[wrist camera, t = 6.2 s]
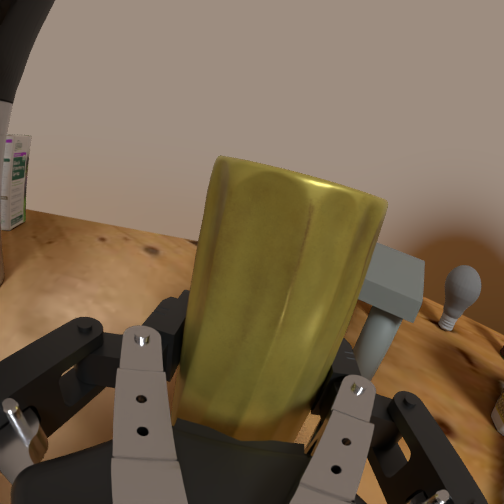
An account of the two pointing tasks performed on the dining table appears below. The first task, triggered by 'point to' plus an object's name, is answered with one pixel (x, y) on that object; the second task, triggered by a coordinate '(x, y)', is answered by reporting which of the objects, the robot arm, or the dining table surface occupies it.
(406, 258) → the stool
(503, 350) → the chess piece
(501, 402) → the ceramic cup
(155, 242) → the dining table surface
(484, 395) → the dining table surface
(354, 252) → the vase
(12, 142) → the syrup box
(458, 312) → the light bulb
